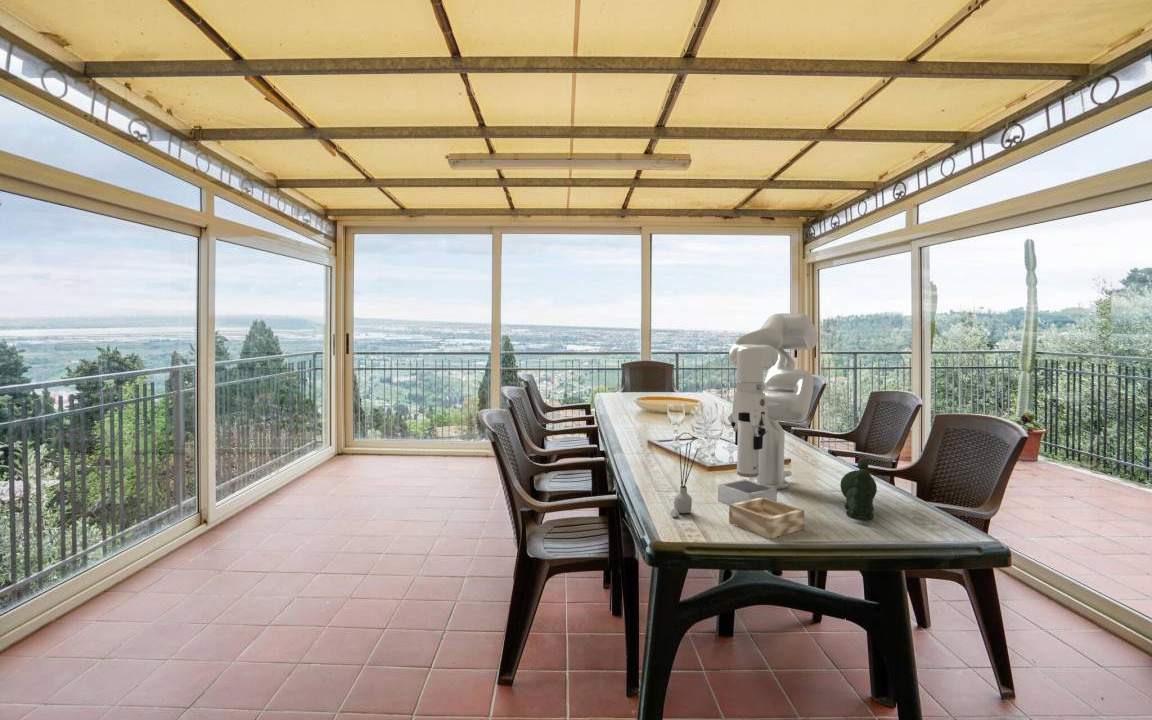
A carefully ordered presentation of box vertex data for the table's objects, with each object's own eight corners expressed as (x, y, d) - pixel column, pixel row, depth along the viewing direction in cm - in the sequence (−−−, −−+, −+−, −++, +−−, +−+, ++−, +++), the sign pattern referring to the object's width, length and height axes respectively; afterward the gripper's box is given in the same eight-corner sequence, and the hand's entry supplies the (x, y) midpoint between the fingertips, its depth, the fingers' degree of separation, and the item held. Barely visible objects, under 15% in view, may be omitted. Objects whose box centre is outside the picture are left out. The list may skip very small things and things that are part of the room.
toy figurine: (881, 535, 143) (873, 500, 166) (885, 466, 141) (876, 440, 163) (841, 530, 147) (838, 496, 170) (844, 462, 145) (841, 437, 167)
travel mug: (761, 478, 161) (762, 411, 159) (737, 477, 162) (739, 410, 161) (758, 472, 167) (759, 407, 165) (735, 471, 168) (737, 407, 167)
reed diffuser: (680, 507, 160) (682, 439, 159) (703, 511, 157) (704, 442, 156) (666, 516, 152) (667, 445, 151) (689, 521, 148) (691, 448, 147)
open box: (744, 494, 173) (745, 479, 173) (776, 505, 163) (777, 488, 162) (717, 500, 167) (718, 484, 166) (748, 511, 156) (749, 494, 156)
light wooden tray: (762, 514, 154) (762, 496, 154) (803, 529, 143) (804, 510, 143) (728, 522, 147) (729, 504, 147) (769, 539, 136) (770, 519, 136)
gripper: (782, 389, 157) (781, 451, 159) (736, 384, 172) (735, 440, 173) (764, 391, 154) (763, 454, 155) (719, 385, 168) (718, 443, 169)
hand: (748, 446), depth 164 cm, fingers closed on travel mug, 6 cm apart
